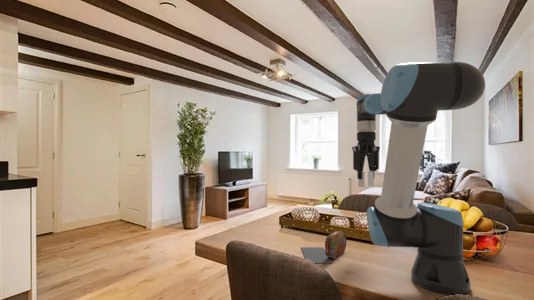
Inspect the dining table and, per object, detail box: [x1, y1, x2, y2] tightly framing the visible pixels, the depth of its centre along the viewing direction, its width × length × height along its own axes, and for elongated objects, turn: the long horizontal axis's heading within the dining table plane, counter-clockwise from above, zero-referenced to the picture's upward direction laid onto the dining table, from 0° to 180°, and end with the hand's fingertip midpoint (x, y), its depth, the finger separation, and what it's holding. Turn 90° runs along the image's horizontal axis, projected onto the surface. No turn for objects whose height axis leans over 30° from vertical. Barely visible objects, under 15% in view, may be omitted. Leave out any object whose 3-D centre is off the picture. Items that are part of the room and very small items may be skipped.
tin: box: [324, 230, 347, 260], centre depth 107 cm, size 15×3×8 cm, turn 143°
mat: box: [300, 246, 333, 265], centre depth 107 cm, size 16×9×1 cm, turn 0°
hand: (366, 186), depth 119 cm, fingers open, 4 cm apart
